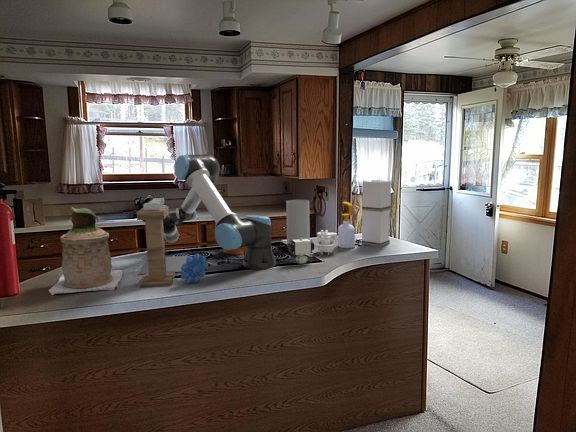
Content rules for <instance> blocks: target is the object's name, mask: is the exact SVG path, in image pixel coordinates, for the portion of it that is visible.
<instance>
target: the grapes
mask: <svg viewBox="0 0 576 432" xmlns="http://www.w3.org/2000/svg"><path fill="white" fill-rule="evenodd" d="M206 261H207V257H206V256H205V255H202V256H201V255H200V254H199V253H195V254H194V255H193V256H190V257H188V258H187V259H186V263H187V264H183V265H182V267H181V270H182V271H184V272H181V275H180V277H181V279H182V280H185V283H186V284H191V283H193V284H195V283H198V282H199V281H200V279H201V278H204V277H205V275H206V269H208V267H209V263H208V261H207V262H206Z"/></svg>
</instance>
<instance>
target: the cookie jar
mask: <svg viewBox="0 0 576 432" xmlns="http://www.w3.org/2000/svg"><path fill="white" fill-rule="evenodd" d="M70 209H71V211H72V213H71V218H70V220H71V221H70V222H71V224H72V228H71V229H69V230H68V232H66V233H65V234H63V235H61V236H60V237H59V239H60V242H61V247H62V251H61V252H62V253H61V254H62V262H61V270H62V274H61V275H60V277H59V279H58V281H57V282H56V283H55V284H54V285H53V286H52V287H50V289H48V292H49V293H50V294H51V296H52V295H56V294H71V293H81V292H91V291H92V292H93V291H113V290H114V291H115V289H116V287H118V286H119V283H120V280H121V279H122V277H123V270H121V269H113V270H112V268H113V265H112V254H111V252H110V247H109V238H110V233H109V232H108V231H106V230H104V229H102V228H99V227H97V226H96V223H97V219H98V216H97V215H96V213H95V212H93V211H92V210H91V209H90V208H88V207H82V208H75V207H70Z"/></svg>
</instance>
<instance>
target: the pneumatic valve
mask: <svg viewBox="0 0 576 432" xmlns="http://www.w3.org/2000/svg"><path fill="white" fill-rule="evenodd" d="M287 248H288V252H289V253H290V254H292V255H293V256H295V263H297V264H299V265H300V264H307V262H308V257H307V256H306V255H308V254H309V255H310V254H313V251H314V250H315V248H316V247H315V242H314V241H313V240H311V238H310V239H302V238H300V239H297V240H291V242H290V243H289V244H288V246H287Z"/></svg>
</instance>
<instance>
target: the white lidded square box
mask: <svg viewBox="0 0 576 432" xmlns="http://www.w3.org/2000/svg"><path fill="white" fill-rule="evenodd" d="M391 187H392V180H380V179H379V180H378V179H377V180H375V179H371V181H368V180H367V181H365V180H363V181H362V192H361V193H362V195H361V196H362V199H361V201H362V205H361V206H362V207H361V210H362V211H361V213H362V214H361V215H362V216H361V217H362V218H361V219H362V221H361V225H362V226H361V245H364V246H372V247H379V248H381V247H384V246H387V245H388V244H390V243H391V240H390V236H389V235H390V213H391V196H392V193H391V191H392V188H391Z"/></svg>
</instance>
